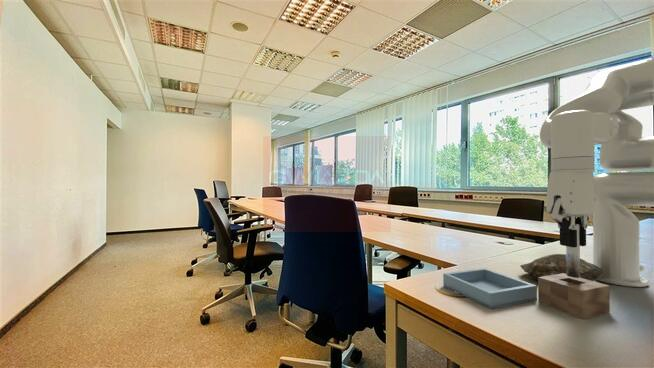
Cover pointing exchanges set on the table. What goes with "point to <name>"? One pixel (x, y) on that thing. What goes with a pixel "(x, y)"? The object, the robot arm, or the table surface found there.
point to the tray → (490, 287)
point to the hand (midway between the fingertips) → (572, 244)
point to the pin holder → (574, 295)
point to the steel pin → (573, 257)
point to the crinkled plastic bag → (559, 267)
